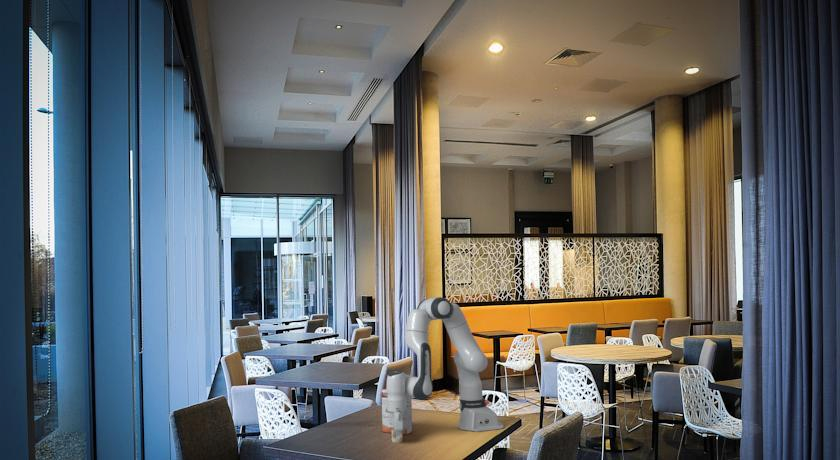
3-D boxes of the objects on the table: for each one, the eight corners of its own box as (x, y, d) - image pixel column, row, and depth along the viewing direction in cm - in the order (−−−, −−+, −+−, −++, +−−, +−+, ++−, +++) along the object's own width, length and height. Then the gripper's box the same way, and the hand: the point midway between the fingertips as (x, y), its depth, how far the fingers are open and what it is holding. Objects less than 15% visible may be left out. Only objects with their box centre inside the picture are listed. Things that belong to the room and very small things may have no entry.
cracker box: (381, 432, 309) (381, 389, 311) (388, 429, 315) (387, 387, 316) (406, 435, 303) (405, 391, 305) (412, 432, 308) (411, 389, 310)
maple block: (401, 439, 295) (401, 428, 296) (402, 441, 291) (402, 430, 291) (391, 440, 295) (391, 429, 295) (392, 442, 290) (392, 431, 291)
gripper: (405, 410, 284) (406, 441, 283) (400, 401, 304) (400, 431, 303) (392, 411, 283) (392, 442, 282) (387, 402, 303) (387, 431, 302)
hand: (396, 436), depth 293 cm, fingers open, 8 cm apart
